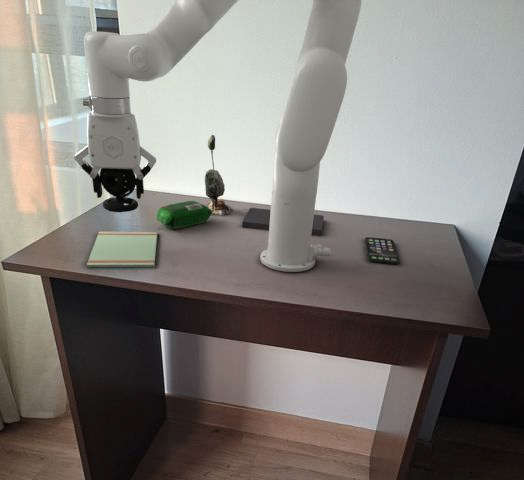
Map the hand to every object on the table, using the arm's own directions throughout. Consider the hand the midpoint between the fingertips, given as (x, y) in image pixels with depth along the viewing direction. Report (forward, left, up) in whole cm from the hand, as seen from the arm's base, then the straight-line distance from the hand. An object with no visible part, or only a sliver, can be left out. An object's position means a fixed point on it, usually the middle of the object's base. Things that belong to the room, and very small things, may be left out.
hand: (119, 196), depth 105 cm
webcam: (0, 0, -3) cm, 3 cm away
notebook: (-41, -19, -12) cm, 47 cm away
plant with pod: (-23, -29, -12) cm, 39 cm away
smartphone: (-62, +1, -12) cm, 63 cm away
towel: (0, 0, -12) cm, 12 cm away
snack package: (-14, -18, -12) cm, 26 cm away
